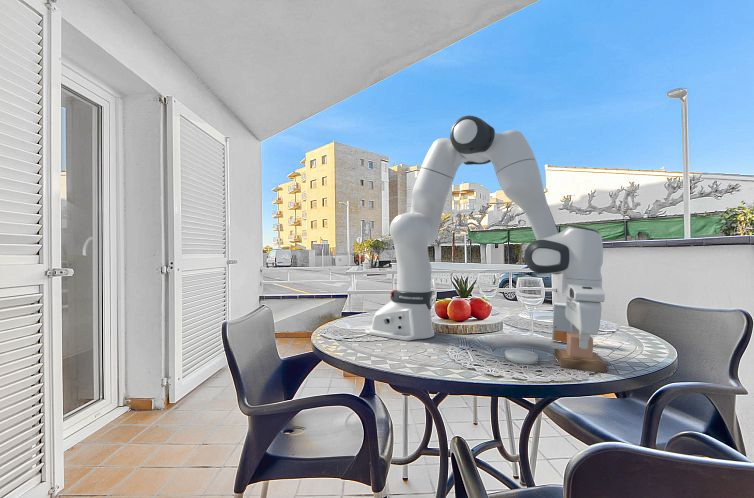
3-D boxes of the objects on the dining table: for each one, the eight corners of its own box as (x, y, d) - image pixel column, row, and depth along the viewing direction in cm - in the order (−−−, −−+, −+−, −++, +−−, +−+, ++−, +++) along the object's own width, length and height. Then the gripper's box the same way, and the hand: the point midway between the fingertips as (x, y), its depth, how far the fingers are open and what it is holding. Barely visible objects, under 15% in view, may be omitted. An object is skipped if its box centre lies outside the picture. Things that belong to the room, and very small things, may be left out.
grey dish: (505, 361, 95) (505, 356, 95) (504, 353, 102) (504, 347, 102) (539, 365, 92) (539, 359, 92) (535, 356, 100) (535, 351, 100)
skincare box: (551, 342, 116) (553, 303, 115) (552, 339, 119) (553, 302, 119) (573, 345, 113) (575, 305, 113) (573, 342, 117) (575, 304, 116)
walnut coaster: (560, 367, 92) (560, 358, 92) (554, 355, 101) (554, 347, 101) (606, 372, 89) (606, 363, 89) (595, 360, 98) (595, 351, 98)
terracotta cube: (570, 356, 93) (570, 336, 93) (566, 351, 98) (566, 332, 98) (592, 359, 92) (593, 338, 92) (587, 353, 97) (588, 334, 97)
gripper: (560, 284, 106) (558, 333, 106) (576, 294, 86) (573, 353, 86) (585, 286, 104) (583, 335, 104) (607, 295, 84) (604, 356, 84)
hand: (579, 343), depth 95 cm, fingers open, 7 cm apart
